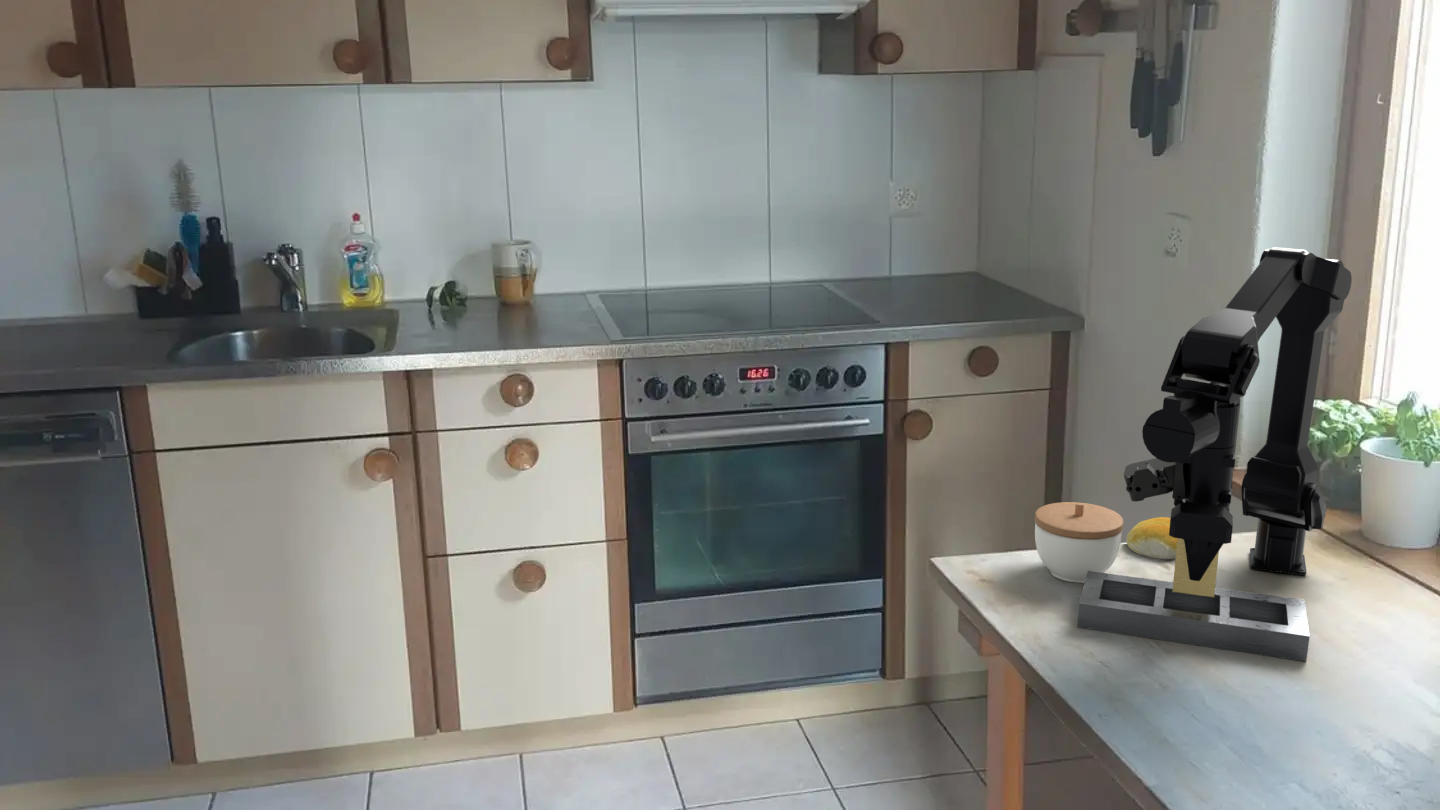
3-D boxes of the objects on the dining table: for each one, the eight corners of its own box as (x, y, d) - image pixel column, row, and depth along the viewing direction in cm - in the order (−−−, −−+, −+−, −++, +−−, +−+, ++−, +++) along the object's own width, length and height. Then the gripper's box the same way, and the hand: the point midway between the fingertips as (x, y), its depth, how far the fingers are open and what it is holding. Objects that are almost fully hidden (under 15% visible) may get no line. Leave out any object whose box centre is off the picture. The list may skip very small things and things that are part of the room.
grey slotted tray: (1086, 593, 151) (1087, 570, 150) (1301, 623, 143) (1304, 599, 142) (1077, 627, 142) (1078, 603, 142) (1306, 661, 134) (1309, 636, 133)
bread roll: (1200, 544, 167) (1203, 516, 166) (1181, 566, 160) (1184, 537, 159) (1138, 531, 172) (1141, 504, 170) (1117, 552, 165) (1120, 523, 163)
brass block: (1214, 582, 142) (1219, 529, 141) (1214, 597, 138) (1219, 543, 137) (1173, 576, 144) (1178, 524, 142) (1172, 591, 140) (1177, 538, 138)
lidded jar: (1101, 555, 163) (1106, 488, 160) (1132, 589, 152) (1138, 517, 150) (1020, 558, 162) (1024, 490, 160) (1046, 592, 152) (1051, 520, 149)
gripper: (1137, 412, 148) (1127, 534, 152) (1125, 458, 131) (1114, 594, 135) (1237, 421, 144) (1224, 546, 148) (1239, 469, 127) (1224, 609, 131)
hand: (1195, 572), depth 141 cm, fingers closed on brass block, 4 cm apart
